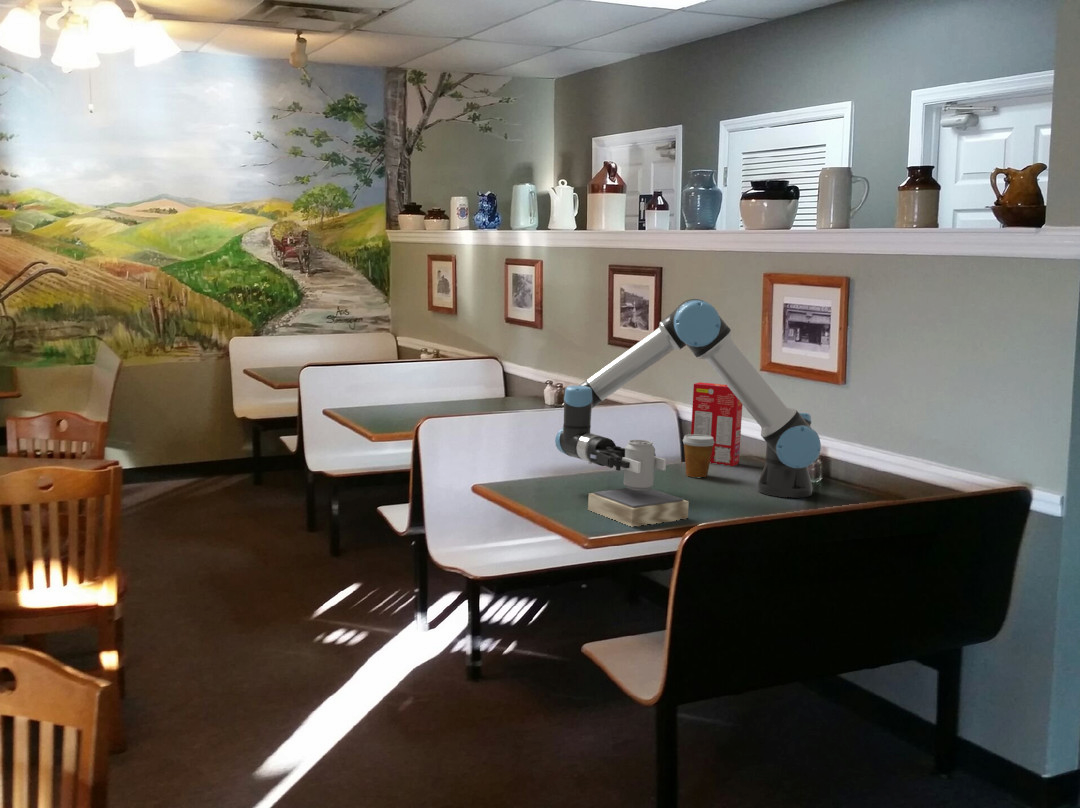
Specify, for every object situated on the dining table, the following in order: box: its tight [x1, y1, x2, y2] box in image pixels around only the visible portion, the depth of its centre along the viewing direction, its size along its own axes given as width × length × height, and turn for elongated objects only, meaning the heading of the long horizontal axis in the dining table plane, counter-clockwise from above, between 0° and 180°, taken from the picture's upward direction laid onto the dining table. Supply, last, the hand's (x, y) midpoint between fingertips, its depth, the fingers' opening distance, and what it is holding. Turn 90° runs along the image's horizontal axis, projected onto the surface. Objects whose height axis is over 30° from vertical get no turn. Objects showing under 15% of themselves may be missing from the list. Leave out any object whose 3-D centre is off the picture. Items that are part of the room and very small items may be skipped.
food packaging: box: [690, 381, 743, 467], centre depth 336 cm, size 15×5×25 cm, turn 61°
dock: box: [587, 487, 690, 528], centre depth 266 cm, size 18×18×5 cm
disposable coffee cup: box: [682, 433, 715, 478], centre depth 314 cm, size 10×10×12 cm
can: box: [623, 439, 656, 490], centre depth 265 cm, size 8×8×12 cm
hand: (652, 466), depth 260 cm, fingers closed on can, 7 cm apart
